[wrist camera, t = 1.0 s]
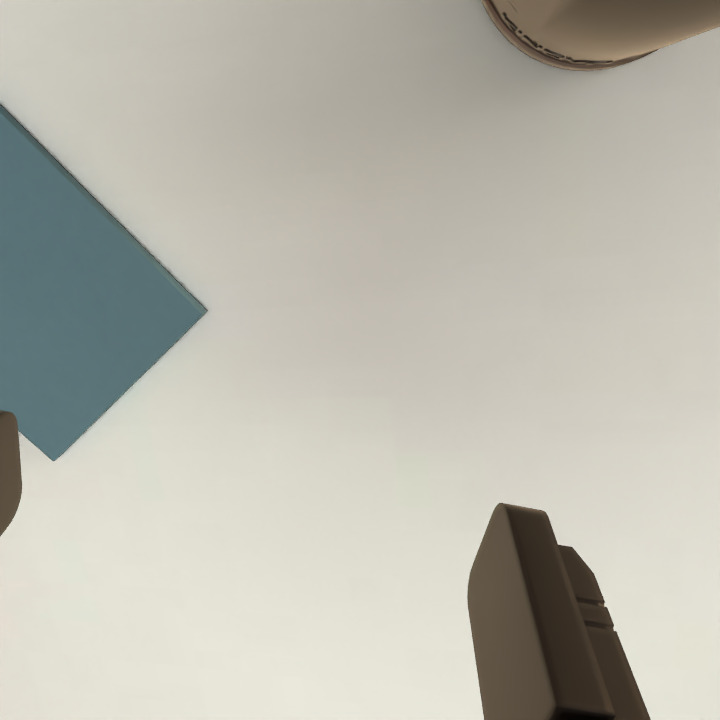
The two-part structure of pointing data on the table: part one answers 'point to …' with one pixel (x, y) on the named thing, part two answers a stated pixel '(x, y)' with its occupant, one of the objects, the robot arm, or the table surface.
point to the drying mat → (72, 299)
